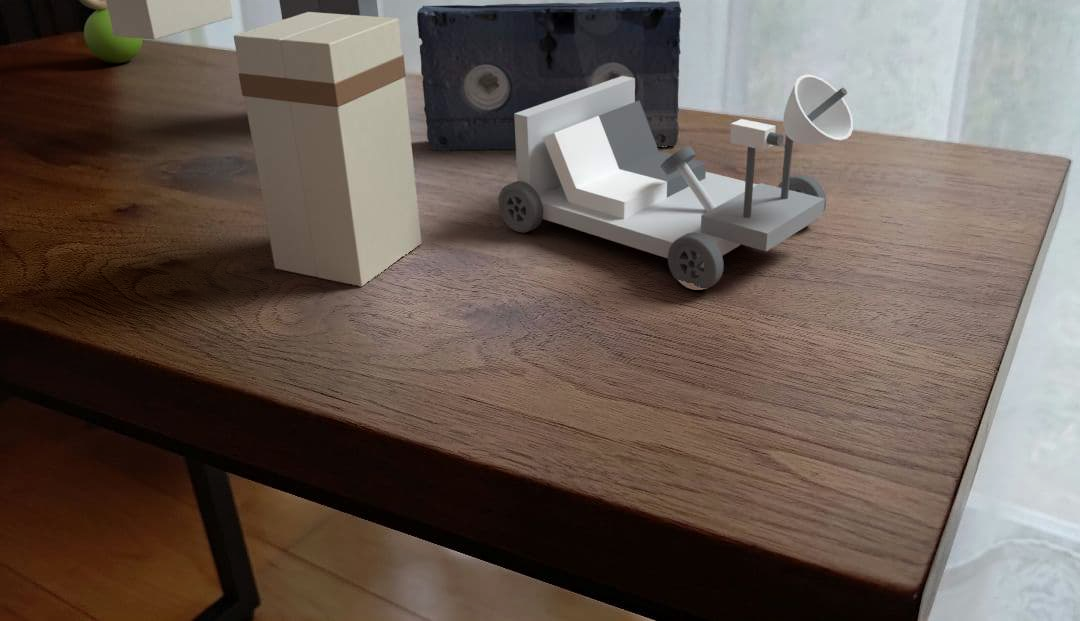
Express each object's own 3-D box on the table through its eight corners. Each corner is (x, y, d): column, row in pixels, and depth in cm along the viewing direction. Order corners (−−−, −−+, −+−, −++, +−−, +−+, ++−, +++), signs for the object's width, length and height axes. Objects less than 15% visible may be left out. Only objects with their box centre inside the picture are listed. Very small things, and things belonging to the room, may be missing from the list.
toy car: (888, 67, 52) (773, 121, 45) (866, 239, 57) (758, 314, 49) (617, 26, 63) (489, 64, 56) (617, 173, 68) (498, 226, 60)
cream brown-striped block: (273, 269, 56) (231, 35, 50) (338, 229, 61) (307, 11, 55) (361, 287, 53) (329, 44, 47) (423, 244, 58) (400, 17, 52)
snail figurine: (71, 67, 100) (39, -59, 95) (128, 53, 105) (100, -68, 99) (101, 74, 97) (70, -56, 92) (158, 59, 102) (132, -65, 96)
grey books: (299, 130, 79) (270, -57, 72) (318, 107, 84) (293, -68, 78) (373, 128, 78) (351, -59, 72) (388, 106, 84) (369, -70, 77)
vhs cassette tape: (677, 136, 74) (681, -1, 69) (678, 150, 71) (682, 7, 67) (434, 138, 76) (422, 3, 71) (426, 150, 73) (413, 12, 69)
